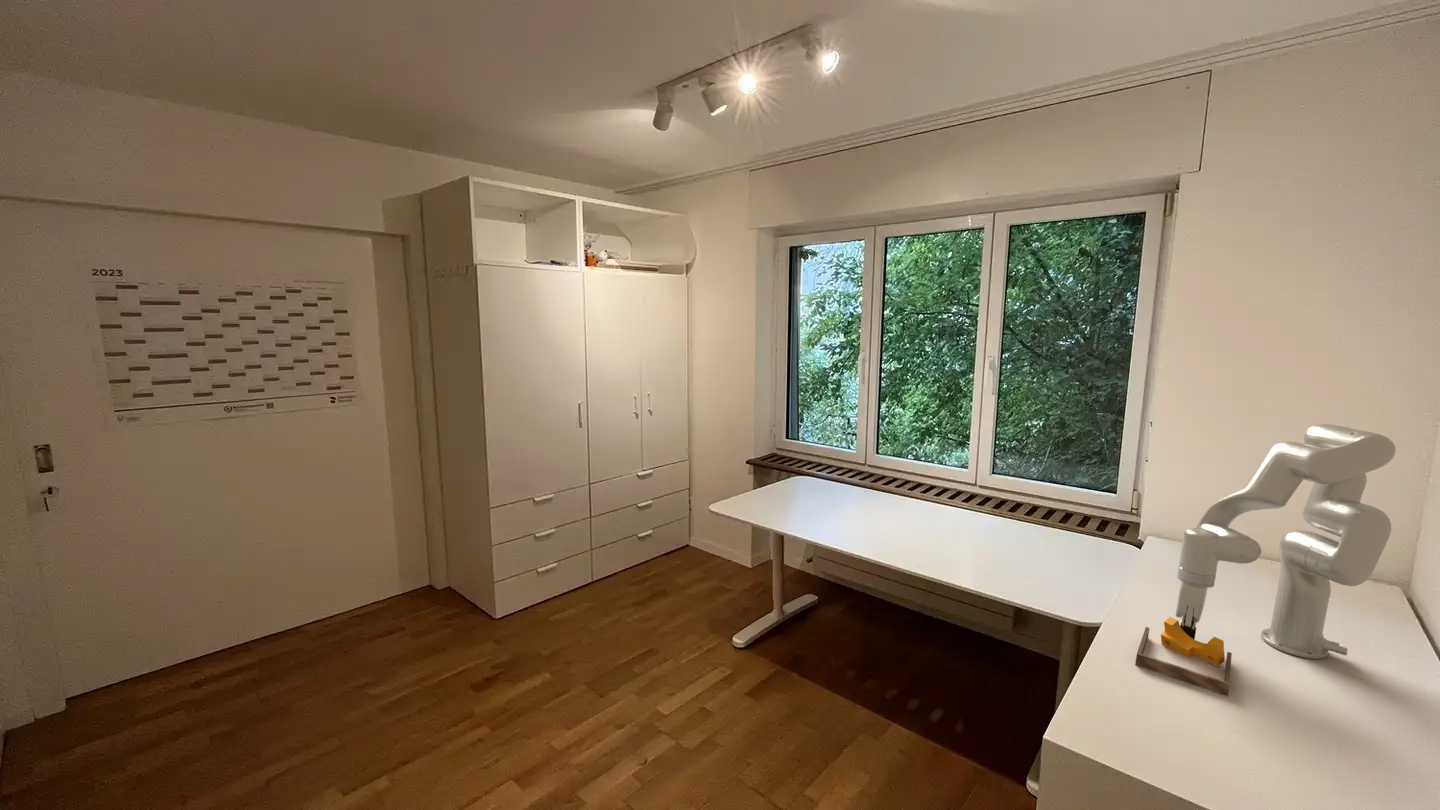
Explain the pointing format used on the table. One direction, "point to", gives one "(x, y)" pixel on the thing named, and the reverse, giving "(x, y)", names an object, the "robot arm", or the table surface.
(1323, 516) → the robot arm
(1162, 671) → the walnut bay
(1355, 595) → the table surface
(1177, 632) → the pipe clamp
